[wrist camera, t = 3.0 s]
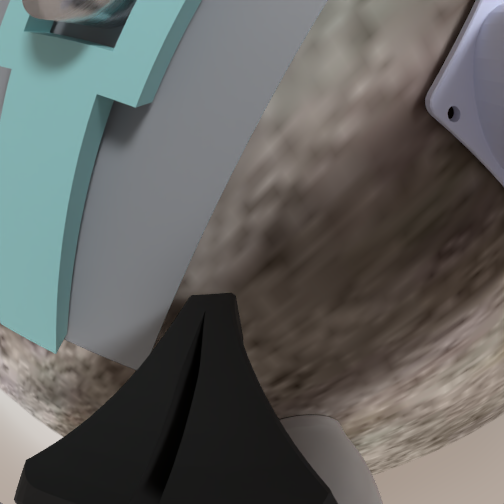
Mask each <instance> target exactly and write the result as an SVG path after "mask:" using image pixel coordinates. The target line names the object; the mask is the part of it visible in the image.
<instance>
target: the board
mask: <svg viewBox="0 0 504 504" xmlns="http://www.w3.org/2000/svg"><path fill="white" fill-rule="evenodd" d="M327 1H328V0H202V1H201V2H200V4H199V6H198V8H197V10H196V11H195V13H194V15H193V17H192V19H191V21H190V22H189V24H188V26H187V28H186V30H185V32H184V34H183V36H182V38H181V40H180V42H179V44H178V46H177V48H176V50H175V52H174V54H173V56H172V58H171V61H170V63H169V65H168V67H167V69H166V71H165V74H164V76H163V78H162V80H161V83H160V85H159V87H158V90H157V92H156V94H155V97H154V99H153V102H151V103H148V104H145V105H142V106H139V107H136V108H135V107H132V106H129V105H127V104H124V103H121V102H118V101H115V100H114V102H113V105H112V108H111V111H110V113H109V116H108V119H107V122H106V126H105V129H104V132H103V135H102V138H101V142H100V145H99V148H98V152H97V155H96V159H95V163H94V167H93V170H92V174H91V178H90V182H89V186H88V191H87V195H86V199H85V204H84V209H83V214H82V219H81V224H80V229H79V235H78V240H77V246H76V253H75V259H74V267H73V274H72V282H71V291H70V301H69V313H68V327H67V334H66V336H65V338H64V339H65V340H67V341H69V342H71V343H73V344H76V345H78V346H80V347H82V348H84V349H87V350H89V351H91V352H93V353H96V354H98V355H100V356H103V357H105V358H107V359H110V360H112V361H115V362H117V363H119V364H122V365H124V366H127V367H130V368H132V369H135V370H137V369H138V368H139V367H140V366H141V365H142V363H143V362H144V361H145V360H146V358H147V357H148V356H149V355H150V353H151V351H152V348H153V346H154V344H155V341H156V339H157V336H158V334H159V332H160V329H161V327H162V324H163V322H164V320H165V317H166V315H167V313H168V310H169V308H170V306H171V303H172V301H173V299H174V296H175V294H176V292H177V290H178V287H179V285H180V283H181V281H182V278H183V276H184V274H185V272H186V269H187V267H188V265H189V263H190V261H191V258H192V256H193V254H194V252H195V250H196V247H197V245H198V243H199V241H200V239H201V237H202V235H203V232H204V230H205V228H206V226H207V224H208V222H209V220H210V218H211V216H212V213H213V211H214V209H215V207H216V205H217V203H218V201H219V199H220V197H221V195H222V193H223V191H224V189H225V187H226V185H227V183H228V181H229V179H230V177H231V175H232V173H233V171H234V169H235V167H236V165H237V163H238V161H239V159H240V157H241V155H242V153H243V151H244V149H245V147H246V145H247V143H248V141H249V139H250V137H251V135H252V133H253V131H254V130H255V128H256V126H257V124H258V122H259V120H260V118H261V116H262V114H263V113H264V111H265V109H266V107H267V105H268V103H269V101H270V100H271V98H272V96H273V94H274V92H275V90H276V89H277V87H278V85H279V83H280V81H281V79H282V78H283V76H284V74H285V72H286V71H287V69H288V67H289V65H290V63H291V62H292V60H293V58H294V56H295V55H296V53H297V51H298V49H299V48H300V46H301V44H302V43H303V41H304V39H305V37H306V36H307V34H308V32H309V31H310V29H311V27H312V26H313V24H314V22H315V21H316V19H317V17H318V16H319V14H320V12H321V11H322V9H323V7H324V6H325V4H326V2H327ZM9 2H10V0H0V26H1V23H2V20H3V18H4V15H5V12H6V10H7V7H8V5H9ZM124 25H125V24H123V25H121V26H118V27H115V28H109V29H102V28H96V27H91V26H85V25H80V24H74V23H67V22H60V21H54V22H53V25H52V27H51V30H50V33H55V34H60V35H64V36H69V37H73V38H78V39H82V40H86V41H90V42H94V43H98V44H102V45H105V46H109V47H113V48H115V45H116V43H117V41H118V39H119V36H120V34H121V32H122V30H123V27H124ZM11 70H12V69H10V68H5V67H1V66H0V119H1V113H2V108H3V103H4V98H5V94H6V90H7V85H8V81H9V77H10V73H11Z"/></svg>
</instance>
